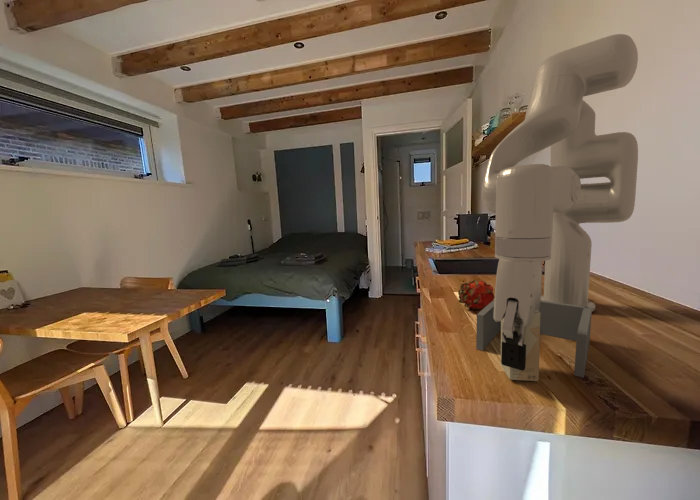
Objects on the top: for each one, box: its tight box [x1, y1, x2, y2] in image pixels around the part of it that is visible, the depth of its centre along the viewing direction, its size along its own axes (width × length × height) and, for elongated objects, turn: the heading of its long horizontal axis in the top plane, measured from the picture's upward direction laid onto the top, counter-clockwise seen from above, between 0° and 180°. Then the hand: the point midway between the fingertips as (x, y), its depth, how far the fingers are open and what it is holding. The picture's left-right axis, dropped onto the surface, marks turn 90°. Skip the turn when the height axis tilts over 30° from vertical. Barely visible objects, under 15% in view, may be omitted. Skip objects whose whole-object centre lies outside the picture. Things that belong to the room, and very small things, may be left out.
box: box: [500, 310, 541, 382], centre depth 47 cm, size 5×4×11 cm
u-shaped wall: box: [475, 300, 593, 379], centre depth 57 cm, size 16×16×7 cm
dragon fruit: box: [457, 279, 495, 311], centre depth 79 cm, size 8×8×12 cm
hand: (518, 356), depth 48 cm, fingers closed on box, 6 cm apart
